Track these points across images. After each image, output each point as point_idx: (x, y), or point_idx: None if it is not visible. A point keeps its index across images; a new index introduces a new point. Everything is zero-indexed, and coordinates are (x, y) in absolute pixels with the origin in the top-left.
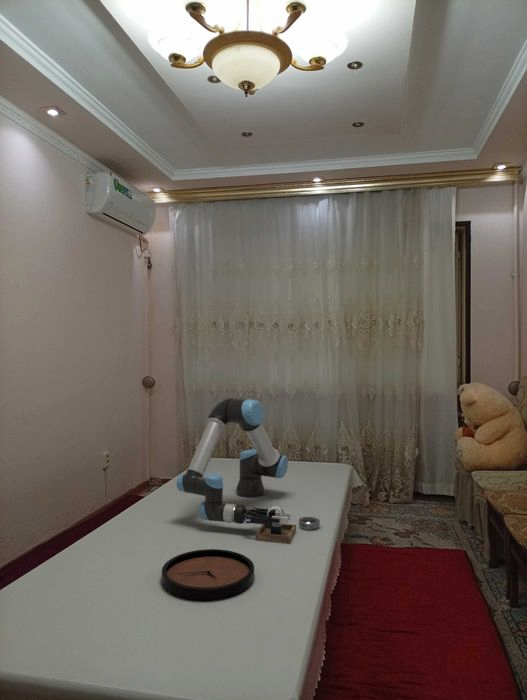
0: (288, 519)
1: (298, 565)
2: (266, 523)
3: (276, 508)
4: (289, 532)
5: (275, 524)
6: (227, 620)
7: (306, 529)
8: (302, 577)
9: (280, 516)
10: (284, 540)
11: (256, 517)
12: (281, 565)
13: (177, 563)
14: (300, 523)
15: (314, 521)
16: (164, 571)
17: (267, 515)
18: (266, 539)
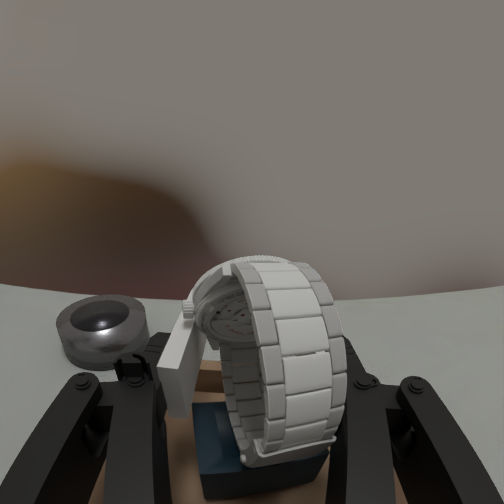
0: (205, 336)
1: (458, 323)
2: (410, 428)
3: (307, 267)
4: (194, 402)
5: (244, 432)
6: None
7: (145, 345)
8: (483, 306)
9: (194, 361)
10: None
11: (482, 488)
12: (492, 345)
13: None
14: (114, 345)
15: (119, 303)
16: None
17: (334, 421)
18: None
